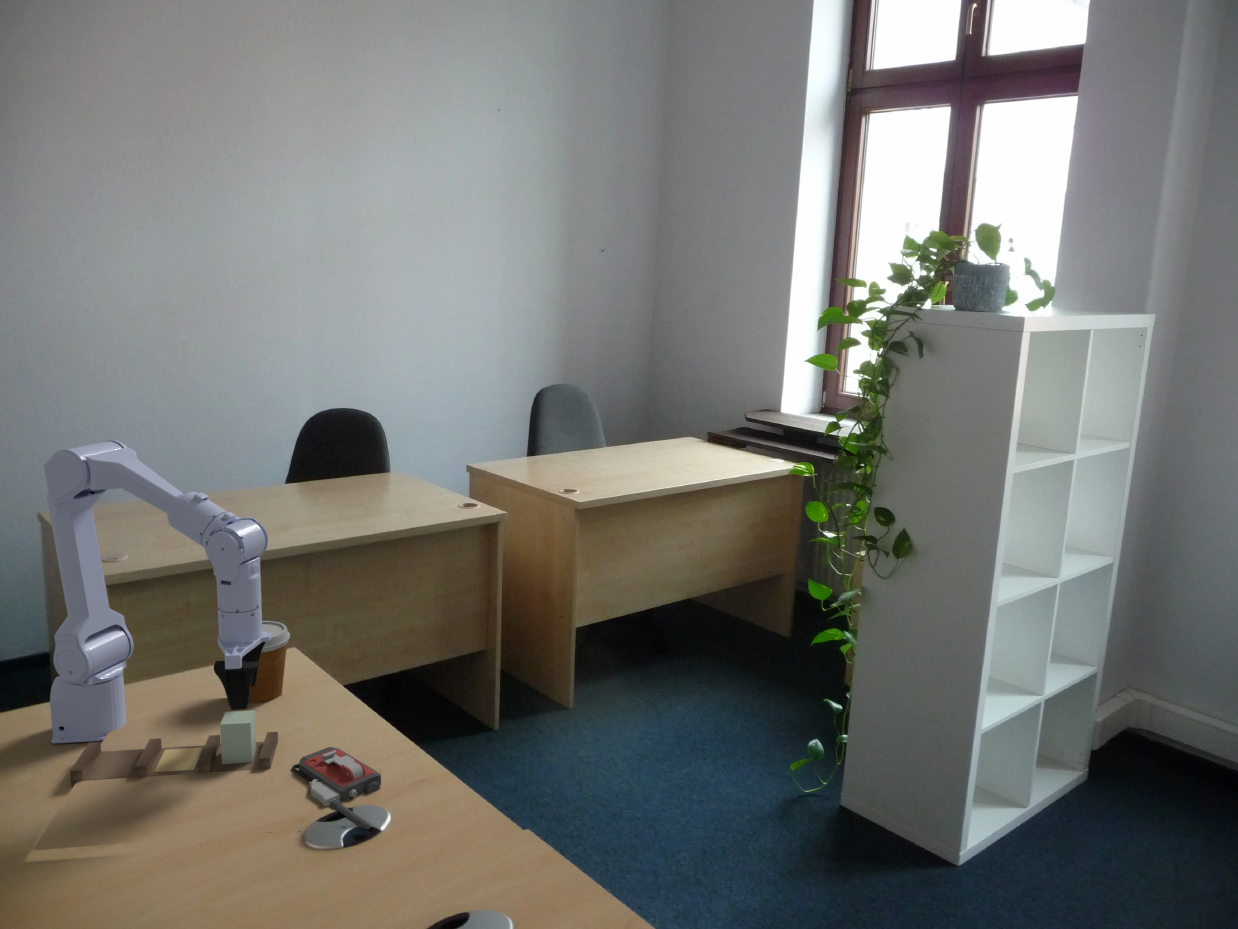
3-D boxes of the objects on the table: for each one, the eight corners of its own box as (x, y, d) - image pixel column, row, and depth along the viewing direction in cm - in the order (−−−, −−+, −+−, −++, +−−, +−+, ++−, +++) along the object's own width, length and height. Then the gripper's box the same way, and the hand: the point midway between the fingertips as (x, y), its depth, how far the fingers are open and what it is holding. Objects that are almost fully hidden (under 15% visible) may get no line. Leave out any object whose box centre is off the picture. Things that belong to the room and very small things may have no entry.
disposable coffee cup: (228, 692, 161) (225, 623, 159) (288, 684, 165) (286, 617, 163) (232, 716, 153) (228, 644, 150) (295, 707, 157) (293, 637, 154)
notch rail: (71, 788, 131) (70, 770, 130) (90, 758, 138) (88, 742, 138) (270, 774, 136) (270, 758, 135) (278, 747, 144) (277, 731, 143)
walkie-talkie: (277, 782, 135) (361, 840, 122) (276, 753, 134) (360, 808, 121) (333, 760, 141) (418, 813, 128) (332, 732, 140) (418, 783, 127)
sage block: (222, 764, 136) (220, 724, 135) (227, 750, 140) (225, 711, 139) (252, 762, 137) (250, 722, 136) (256, 748, 141) (254, 710, 140)
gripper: (262, 623, 130) (266, 717, 132) (276, 588, 143) (279, 674, 146) (206, 625, 128) (211, 721, 131) (225, 590, 142) (229, 677, 145)
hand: (243, 696), depth 138 cm, fingers open, 7 cm apart
